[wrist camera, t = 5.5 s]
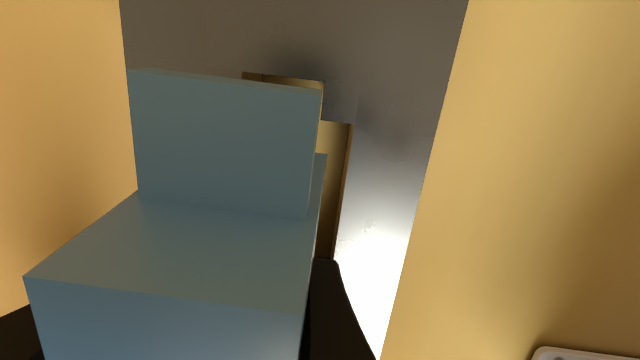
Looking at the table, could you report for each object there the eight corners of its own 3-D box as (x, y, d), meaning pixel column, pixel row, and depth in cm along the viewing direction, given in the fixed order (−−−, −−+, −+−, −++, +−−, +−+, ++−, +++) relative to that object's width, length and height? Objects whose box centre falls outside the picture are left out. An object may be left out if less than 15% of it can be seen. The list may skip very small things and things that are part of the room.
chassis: (451, -39, 12) (484, -62, 9) (365, 346, 19) (368, 400, 16) (162, -74, 12) (108, -106, 9) (183, 321, 19) (156, 369, 16)
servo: (337, 72, 9) (322, 148, 3) (300, 363, 13) (262, 642, 7) (205, 55, 9) (-77, 97, 3) (209, 350, 13) (95, 616, 7)
